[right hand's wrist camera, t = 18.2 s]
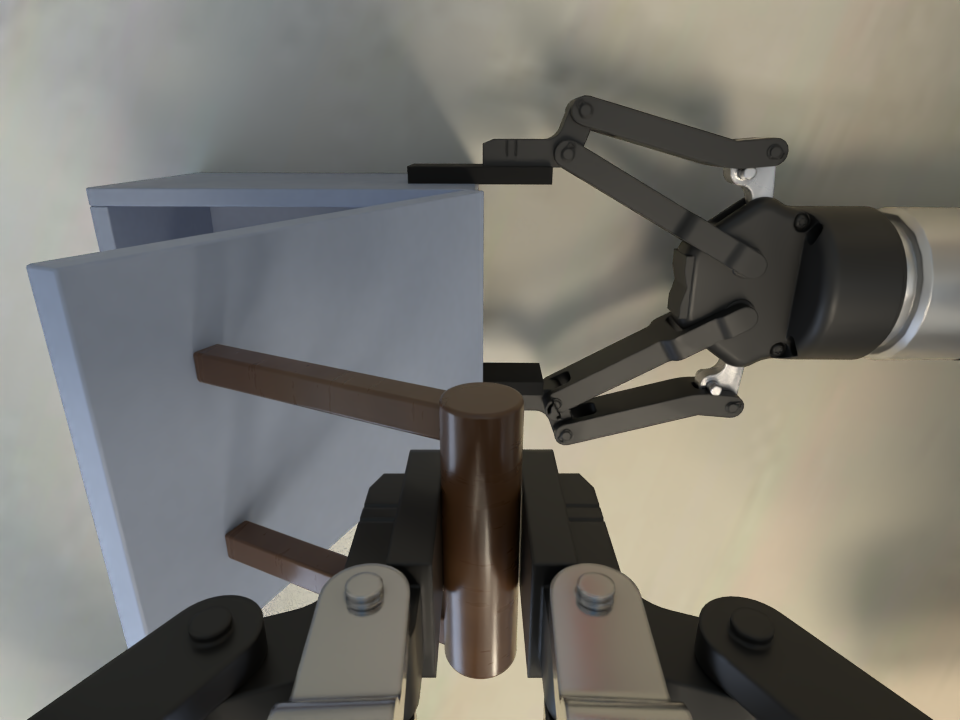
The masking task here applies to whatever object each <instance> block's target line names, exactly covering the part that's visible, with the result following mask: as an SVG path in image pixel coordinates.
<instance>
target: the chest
mask: <svg viewBox="0 0 960 720" xmlns="http://www.w3.org/2000/svg"><path fill="white" fill-rule="evenodd" d="M463 190H475V191H478V184H408V173H193V174H185V175H178V176H171V177H163V178H156V179H148V180H141V181H133V182H126V183H119V184H111V185H104V186H96V187H89V188H86V191H87V195H88V200H89V204H90V206H91V207H90V209H91V214H92V218H93V223H94V227H95V232H96V236H97V241H98V246H99V250H100V252H102V251H108V250H114V249H120V248H126V247H132V246H138V245H144V244H150V243H156V242H161V241H167V240H173V239H179V238H185V237H191V236H197V235H203V234H209V233H215V232H221V231H227V230H232V229H238V228H244V227H250V226H256V225H262V224H268V223H274V222H280V221H286V220H292V219H297V218H303V217H309V216H315V215H321V214H327V213H333V212H339V211H345V210H351V209H357V208H363V207H368V206H374V205H380V204H386V203H392V202H398V201H404V200H410V199H416V198H422V197H428V196H433V195H439V194H445V193H451V192H457V191H463Z"/></svg>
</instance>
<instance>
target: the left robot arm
mask: <svg viewBox="0 0 960 720" xmlns="http://www.w3.org/2000/svg"><path fill="white" fill-rule="evenodd" d="M590 131H594V132H597V133H600V134H604V135H607V136H610V137H614V138H617V139H620V140H624V141H627V142H630V143H634V144H637V145H640V146H644V147H647V148H650V149H654V150H657V151H660V152H663V153H667V154H670V155H673V156H677V157H680V158H683V159H687V160H690V161H693V162H697V163H700V164H705V165H710V166H717V167H724V170H723V173H724V178H725V179H726V181H727V182H729V183H731V184H736V185H739V186H740V187H741V188H742V189H743V191H744V198H742V199H741V200H739V201H738V202H736V203H735V204H733V205H732V206H730V207H729V208H727V209H726V210H724V211H723V212H721V213H720V214H718V215H717V216H715V217H714V218H712V219H711V220H709V221H706V220H704V219H702V218H701V217H699V216H697V215H695V214H694V213H692V212H690V211H688V210H686V209H685V208H683V207H681V206H680V205H678V204H677V203H675V202H673V201H672V200H670V199H668V198H667V197H665V196H664V195H662V194H660V193H659V192H657V191H655V190H654V189H652V188H650V187H649V186H647V185H646V184H644V183H642V182H641V181H639V180H637V179H636V178H634V177H632V176H631V175H629V174H628V173H626V172H624V171H623V170H621V169H619V168H618V167H616V166H615V165H613V164H611V163H610V162H608V161H606V160H605V159H603V158H601V157H600V156H598V155H597V154H595V153H593V152H592V151H590V150H588V149H587V148H585V147H584V145H585V142H586V140H587V137H588V135H589V132H590ZM787 155H788V145H787V143H786V141H784V140H783V139H781V138H742V139H729V138H726V137H723V136H720V135H716V134H713V133H710V132H707V131H703V130H700V129H697V128H693V127H690V126H687V125H684V124H680V123H677V122H674V121H671V120H667V119H664V118H661V117H658V116H654V115H651V114H648V113H644V112H641V111H638V110H635V109H631V108H628V107H625V106H622V105H618V104H615V103H612V102H609V101H605V100H602V99H599V98H595V97H592V96H586V95H584V96H582V97H578V98H576V99H574V100H572V101H571V102H570V103H568V105H567V107H566V109H565V114H564V117H563V119H562V122H561V125H560V127H559V129H558V131H557V132H556V133H555V135H553V136H552V137H550V138H547V139H492V140H490V141H488V142H485V143H483V164H412V165H410V166H407V172H408V184H550V185H552V172H553V167H561V168H563V169H565V170H566V171H568V172H570V173H571V174H573V175H575V176H576V177H578V178H580V179H581V180H583V181H585V182H586V183H588V184H589V185H591V186H593V187H594V188H596V189H598V190H599V191H601V192H603V193H604V194H606V195H608V196H609V197H611V198H613V199H614V200H616V201H618V202H619V203H621V204H623V205H624V206H626V207H628V208H629V209H631V210H633V211H634V212H636V213H638V214H639V215H641V216H643V217H644V218H646V219H648V220H649V221H651V222H653V223H654V224H656V225H658V226H659V227H661V228H662V229H664V230H666V231H667V232H669V233H671V234H672V235H674V236H676V237H677V238H679V239H681V240H682V242H681V244H680V246H679V248H678V249H674V256H673V270H674V276H675V280H674V282H673V285H672V288H671V290H670V293H669V299H668V307H667V308H668V309H669V310H670V311H671V312H669V313H667V314H665V315H663V316H661V317H659V318H657V319H655V320H653V321H652V322H651V324H650V325H649V326H648V327H646V328H644V329H642V330H640V331H638V332H636V333H634V334H632V335H630V336H628V337H626V338H624V339H622V340H620V341H618V342H616V343H614V344H612V345H610V346H608V347H606V348H604V349H602V350H600V351H598V352H596V353H594V354H592V355H590V356H588V357H586V358H584V359H582V360H580V361H578V362H576V363H574V364H572V365H570V366H568V367H566V368H564V369H562V370H560V371H557V372H555V373H553V374H551V375H549V376H547V377H546V378H544V379H543V378H542V373H541V369H540V365H539V363H483V382H489V383H497V384H502V385H506V386H509V387H511V388H513V389H515V390H517V391H518V392H519V393H520V394H521V395H522V397H523V400H524V410H536V411H541V412H543V413H544V414H546V416H547V417H548V419H549V421H550V424H551V427H552V429H553V432H554V436H555V439H556V441H557V442H558V443H559V444H562V445H570V444H574V443H579V442H583V441H587V440H592V439H596V438H600V437H605V436H609V435H613V434H618V433H622V432H626V431H631V430H635V429H639V428H644V427H648V426H652V425H657V424H661V423H665V422H670V421H674V420H678V419H683V418H687V417H691V416H696V415H704V416H716V417H728V418H731V417H736V416H738V415H739V414H740V413H741V412H742V411H743V409H744V403H743V401H742V400H741V399H740V397H739V396H738V395H737V393H738V389H739V385H740V381H741V377H742V374H743V370H744V367H746V366H749V365H751V364H753V363H755V362H758V361H760V360H763V359H768V358H780V359H838V360H852V359H859V358H862V357H864V358H867V359H872V360H960V208H941V207H883V208H880V209H877V210H876V209H874V208H871V207H864V206H786V205H784V204H783V203H781V202H779V201H778V200H776V199H774V198H773V195H774V184H775V173H776V166H777V165H779V164H781V163H782V162H784V160H785V159H786V157H787ZM704 349H708V350H709V351H710V352H711V353H713V354H714V355H715V356H717V357H718V358H719V361H718V363H717V364H716V365H715V366H714V367H711V368H708V369H700V370H698V371H697V372H696V376H695V377H680V378H674V379H669V380H665V381H661V382H657V383H653V384H648V385H644V386H640V387H636V388H632V389H627V390H623V391H619V392H615V393H611V394H606V395H602V396H598V395H600V394H602V393H604V392H606V391H608V390H610V389H612V388H614V387H616V386H619V385H621V384H623V383H625V382H627V381H629V380H631V379H633V378H635V377H637V376H639V375H641V374H644V373H646V372H648V371H650V370H652V369H654V368H656V367H658V366H660V365H662V364H664V363H666V362H669V361H679V360H682V359H685V358H687V357H689V356H691V355H693V354H695V353H698V352H700V351H702V350H704ZM596 396H598V397H596Z"/></svg>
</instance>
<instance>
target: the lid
mask: <svg viewBox="0 0 960 720" xmlns="http://www.w3.org/2000/svg"><path fill="white" fill-rule="evenodd" d="M483 241H484V192H483V191H475V190H463V191H457V192H451V193H445V194H439V195H433V196H428V197H422V198H416V199H410V200H404V201H398V202H392V203H386V204H380V205H374V206H368V207H363V208H357V209H351V210H345V211H339V212H333V213H327V214H321V215H315V216H309V217H303V218H297V219H292V220H286V221H280V222H274V223H268V224H262V225H256V226H250V227H244V228H238V229H232V230H227V231H221V232H215V233H209V234H203V235H197V236H191V237H185V238H179V239H173V240H167V241H161V242H156V243H150V244H144V245H138V246H132V247H126V248H120V249H114V250H108V251H102V252H96V253H91V254H85V255H79V256H73V257H67V258H61V259H55V260H49V261H43V262H37V263H31V264H29V265H27V272H28V276H29V280H30V283H31V287H32V291H33V295H34V298H35V302H36V306H37V310H38V313H39V317H40V321H41V325H42V328H43V332H44V336H45V340H46V343H47V347H48V351H49V355H50V358H51V362H52V366H53V370H54V373H55V377H56V381H57V385H58V388H59V392H60V396H61V400H62V403H63V407H64V411H65V415H66V418H67V422H68V426H69V430H70V433H71V437H72V441H73V445H74V448H75V452H76V456H77V460H78V463H79V467H80V471H81V475H82V478H83V482H84V486H85V490H86V493H87V497H88V501H89V505H90V508H91V512H92V516H93V520H94V523H95V527H96V531H97V535H98V538H99V542H100V546H101V550H102V553H103V557H104V561H105V565H106V568H107V572H108V576H109V580H110V583H111V587H112V591H113V595H114V598H115V602H116V606H117V610H118V613H119V617H120V621H121V625H122V629H123V632H124V636H125V640H126V644H127V647H128V649H129V648H130V647H131V646H133V645H134V644H136V643H137V642H139V641H140V640H141V639H143V638H144V637H146V636H147V635H149V634H150V633H151V632H153V631H154V630H156V629H157V628H159V627H160V626H161V625H163V624H164V623H166V622H167V621H169V620H170V619H171V618H173V617H174V616H176V615H177V614H179V613H180V612H181V611H183V610H185V609H186V608H188V607H189V606H191V605H193V604H195V603H197V602H200V601H202V600H205V599H208V598H212V597H216V596H222V595H239V596H243V597H247V598H249V599H251V600H253V601H254V602H256V603H257V604H258V605H259V607H260V608H261V609H262V608H263V607H264V606H265V605H266V604H267V603H268V602H269V601H271V600H272V599H273V598H274V597H275V596H276V595H277V594H278V593H280V592H281V591H282V590H283V589H284V588H285V587H286V586H287V585H289V584H290V583H293V584H295V585H298V586H300V587H303V588H305V589H307V590H310V591H312V592H315V593H317V594H320V591H321V589H322V588H323V586H324V585H325V583H326V582H327V581H328V580H329V579H330V578H331V577H333V576H334V575H335V574H337V573H339V572H340V571H342V570H344V568H345V564H346V561H347V558H348V557H347V556H344V555H342V554H339V553H336V552H333V551H330V550H328V549H329V548H330V547H331V546H332V545H333V544H335V543H336V542H337V541H338V540H339V539H340V538H341V537H342V536H344V535H345V534H346V533H347V532H348V531H349V530H350V529H351V528H352V527H354V526H355V525H356V524H357V523H358V522H359V521H360V516H361V513H362V509H363V508H364V503H365V500H366V497H367V493H368V490H369V487H370V486H372V485H373V484H374V483H375V482H376V481H377V480H378V479H379V478H380V477H381V476H382V475H383V474H384V473H405V470H406V465H407V461H408V456H409V452H410V450H411V449H440V470H441V507H442V548H443V596H442V609H441V621H440V634H439V643H442V644H444V645H445V655H446V658H447V660H448V662H449V663H450V665H451V666H452V667H453V668H454V669H455V670H456V671H457V672H459V673H460V674H462V675H464V676H467V677H470V678H474V679H487V678H492V677H495V676H497V675H499V674H501V673H503V672H504V671H505V670H507V669H508V668H509V666H510V665H511V664H512V662H513V660H514V658H515V655H516V646H517V615H518V583H519V551H520V519H521V487H522V455H523V423H524V400H523V397H522V395H521V394H520V393H519V392H518V391H517V390H515V389H513V388H511V387H509V386H506V385H502V384H497V383H489V382H483Z"/></svg>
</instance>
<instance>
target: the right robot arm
mask: <svg viewBox="0 0 960 720" xmlns="http://www.w3.org/2000/svg"><path fill="white" fill-rule="evenodd" d="M519 583H520V595H521V606H522V618H523V629H524V641H525V652H526V664H527V675H528V678H542V680H543V689H544V713H543V720H933V719H931V718H930V717H928V716H927V715H926V714H924V713H923V712H921V711H920V710H918V709H917V708H916V707H914V706H913V705H911V704H910V703H908V702H907V701H906V700H904V699H903V698H901V697H900V696H898V695H897V694H896V693H894V692H893V691H891V690H890V689H888V688H887V687H886V686H884V685H883V684H881V683H880V682H879V681H877V680H876V679H874V678H873V677H871V676H870V675H869V674H867V673H866V672H864V671H863V670H861V669H860V668H859V667H857V666H856V665H854V664H853V663H851V662H850V661H849V660H847V659H846V658H844V657H843V656H841V655H840V654H839V653H837V652H836V651H834V650H833V649H831V648H830V647H829V646H827V645H826V644H824V643H823V642H821V641H820V640H819V639H817V638H816V637H814V636H813V635H811V634H810V633H809V632H807V631H806V630H804V629H803V628H801V627H800V626H799V625H797V624H796V623H794V622H793V621H791V620H790V619H789V618H787V617H786V616H784V615H783V614H781V613H780V612H778V611H777V610H775V609H774V608H772V607H770V606H768V605H766V604H764V603H761V602H758V601H756V600H752V599H748V598H743V597H732V596H730V597H721V598H717V599H714V600H712V601H710V602H709V603H707V604H706V605H705V606H704V607H703V608H702V610H701V612H700V615H699V617H696V616H692V615H688V614H684V613H680V612H675V611H671V610H668V609H665V608H661V607H659V606H656V605H654V604H652V603H650V602H648V601H646V600H645V599H643V598H642V597H641V594H640V592H639V589H638V588H637V586H636V585H635V583H634V582H633V581H632V580H631V579H630V578H628V577H627V576H626V575H625V574H623V573H621V571H620V568H619V565H618V562H617V559H616V556H615V553H614V549H613V546H612V543H611V540H610V537H609V534H608V531H607V527H606V524H605V522H604V520H603V515H602V512H601V509H600V508H599V502H598V499H597V496H596V493H595V490H594V487H593V486H592V485H590V484H589V483H588V482H587V481H586V480H585V479H584V478H583V477H582V476H581V475H580V474H558V469H557V465H556V461H555V456H554V452H553V450H523V455H522V487H521V519H520V551H519ZM442 596H443V548H442V507H441V470H440V449H411V450H410V452H409V456H408V461H407V465H406V470H405V473H384V474H383V475H382V476H381V477H380V478H379V479H378V480H377V481H376V482H375V483H374V484H373V485H372V486H370V487H369V490H368V493H367V497H366V500H365V503H364V508H363V509H362V513H361V516H360V521H359V522H358V526H357V529H356V532H355V535H354V539H353V542H352V545H351V548H350V552H349V555H348V558H347V561H346V564H345V568H344V570H342V571H340V572H339V573H337V574H335V575H334V576H333V577H331V578H330V579H329V580H328V581H327V582H326V583H325V585H324V586H323V588H322V589H321V591H320V594H319V597H318V601H316V602H314V603H312V604H310V605H307V606H305V607H303V608H299V609H296V610H292V611H288V612H284V613H280V614H276V615H272V616H268V617H264V618H263V613H262V610H261V608H260V607H259V605H258V604H257V603H256V602H254V601H253V600H251V599H249V598H247V597H243V596H239V595H222V596H216V597H212V598H208V599H205V600H202V601H200V602H197V603H195V604H193V605H191V606H189V607H188V608H186V609H185V610H183V611H181V612H180V613H179V614H177V615H176V616H174V617H173V618H171V619H170V620H169V621H167V622H166V623H164V624H163V625H161V626H160V627H159V628H157V629H156V630H154V631H153V632H151V633H150V634H149V635H147V636H146V637H144V638H143V639H141V640H140V641H139V642H137V643H136V644H134V645H133V646H131V647H130V648H129V649H127V650H126V651H124V652H123V653H121V654H120V655H119V656H117V657H116V658H114V659H113V660H111V661H110V662H109V663H107V664H106V665H104V666H103V667H101V668H100V669H99V670H97V671H96V672H94V673H93V674H92V675H90V676H89V677H87V678H86V679H84V680H83V681H82V682H80V683H79V684H77V685H76V686H74V687H73V688H72V689H70V690H69V691H67V692H66V693H64V694H63V695H62V696H60V697H59V698H57V699H56V700H54V701H53V702H52V703H50V704H49V705H47V706H46V707H44V708H43V709H42V710H40V711H39V712H37V713H36V714H34V715H33V716H32V717H30V718H29V719H27V720H417V715H416V709H417V706H418V703H419V698H420V689H421V679H422V678H436V671H437V659H438V646H439V634H440V621H441V609H442Z"/></svg>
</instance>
